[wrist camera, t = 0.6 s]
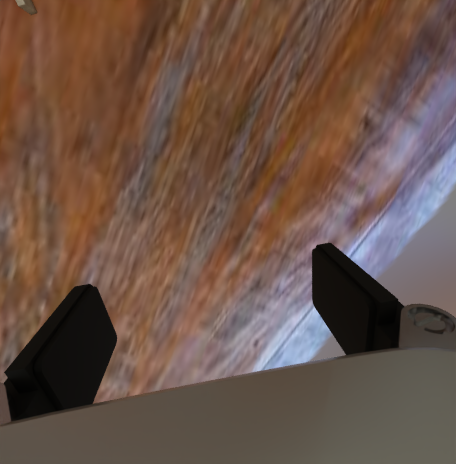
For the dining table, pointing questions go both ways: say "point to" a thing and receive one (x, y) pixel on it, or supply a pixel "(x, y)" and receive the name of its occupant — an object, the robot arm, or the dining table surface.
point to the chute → (27, 6)
